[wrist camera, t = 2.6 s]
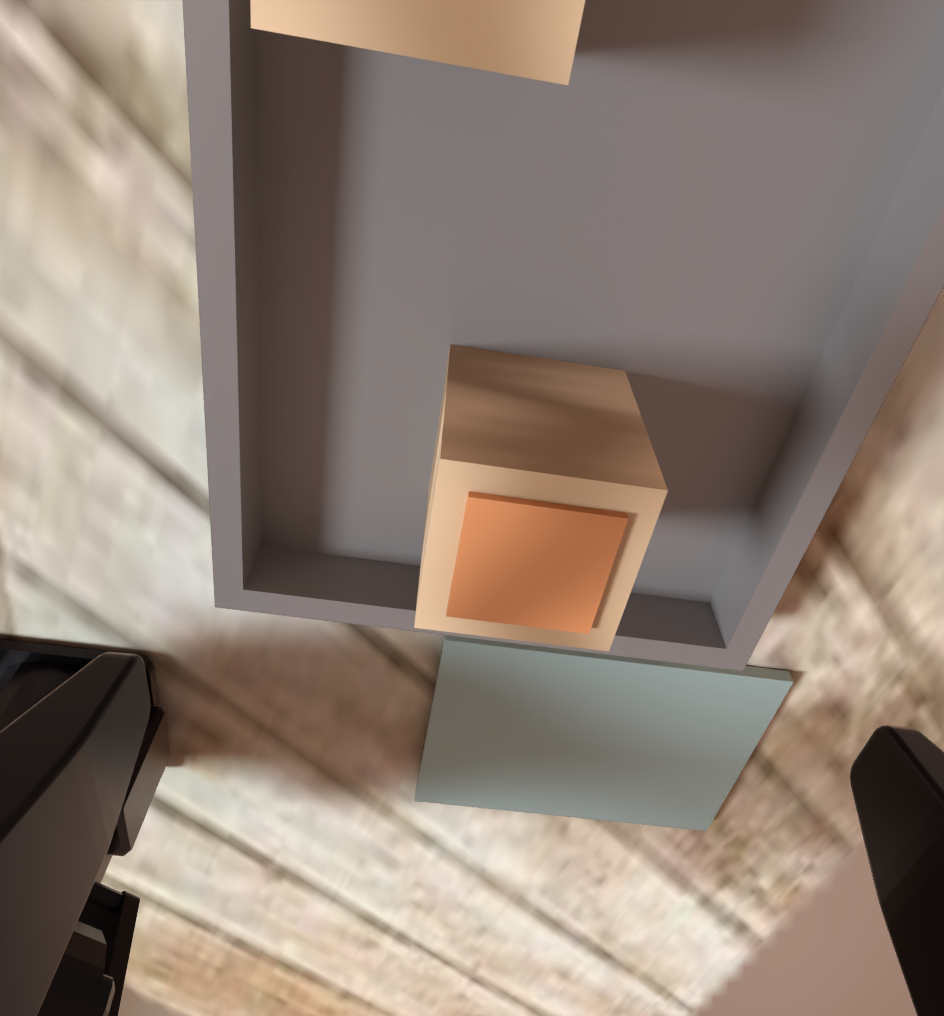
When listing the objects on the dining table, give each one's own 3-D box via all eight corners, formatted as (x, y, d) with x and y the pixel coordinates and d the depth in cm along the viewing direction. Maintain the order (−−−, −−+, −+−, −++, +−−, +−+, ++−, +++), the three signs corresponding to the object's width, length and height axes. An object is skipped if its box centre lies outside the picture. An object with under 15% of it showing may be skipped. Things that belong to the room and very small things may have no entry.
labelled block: (428, 491, 22) (413, 634, 17) (450, 343, 19) (439, 464, 14) (583, 512, 22) (610, 657, 17) (625, 370, 19) (670, 496, 15)
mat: (415, 789, 30) (414, 800, 30) (445, 629, 25) (445, 640, 25) (703, 819, 31) (706, 831, 31) (788, 670, 26) (793, 682, 26)
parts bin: (238, 552, 24) (214, 607, 21) (206, -576, 11) (145, -698, 9) (721, 613, 25) (742, 671, 23) (1170, -343, 12) (1304, -406, 10)
